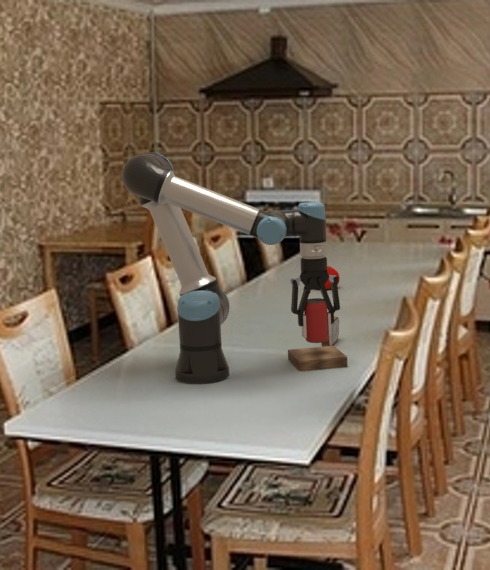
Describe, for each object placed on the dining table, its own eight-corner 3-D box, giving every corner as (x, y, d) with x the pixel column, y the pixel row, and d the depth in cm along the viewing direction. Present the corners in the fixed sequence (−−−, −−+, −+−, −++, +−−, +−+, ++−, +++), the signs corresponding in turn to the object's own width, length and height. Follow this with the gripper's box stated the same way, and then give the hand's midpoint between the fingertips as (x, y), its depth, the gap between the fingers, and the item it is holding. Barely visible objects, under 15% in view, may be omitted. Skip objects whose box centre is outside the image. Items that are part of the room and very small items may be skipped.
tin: (331, 338, 306) (330, 313, 305) (341, 339, 305) (340, 313, 304) (320, 350, 292) (319, 323, 291) (330, 350, 291) (329, 323, 290)
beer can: (333, 339, 276) (331, 299, 273) (318, 344, 271) (317, 303, 269) (315, 337, 280) (313, 297, 278) (300, 341, 275) (299, 300, 273)
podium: (299, 371, 269) (299, 361, 268) (288, 359, 282) (287, 349, 282) (347, 366, 271) (347, 356, 271) (333, 355, 285) (333, 345, 284)
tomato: (311, 286, 400) (311, 265, 399) (340, 286, 398) (339, 264, 397) (309, 291, 390) (309, 269, 388) (339, 291, 388) (338, 269, 386)
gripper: (283, 261, 266) (286, 341, 270) (350, 256, 269) (353, 335, 273) (277, 257, 273) (280, 336, 277) (343, 252, 277) (345, 330, 281)
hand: (316, 335), depth 275 cm, fingers closed on beer can, 7 cm apart
